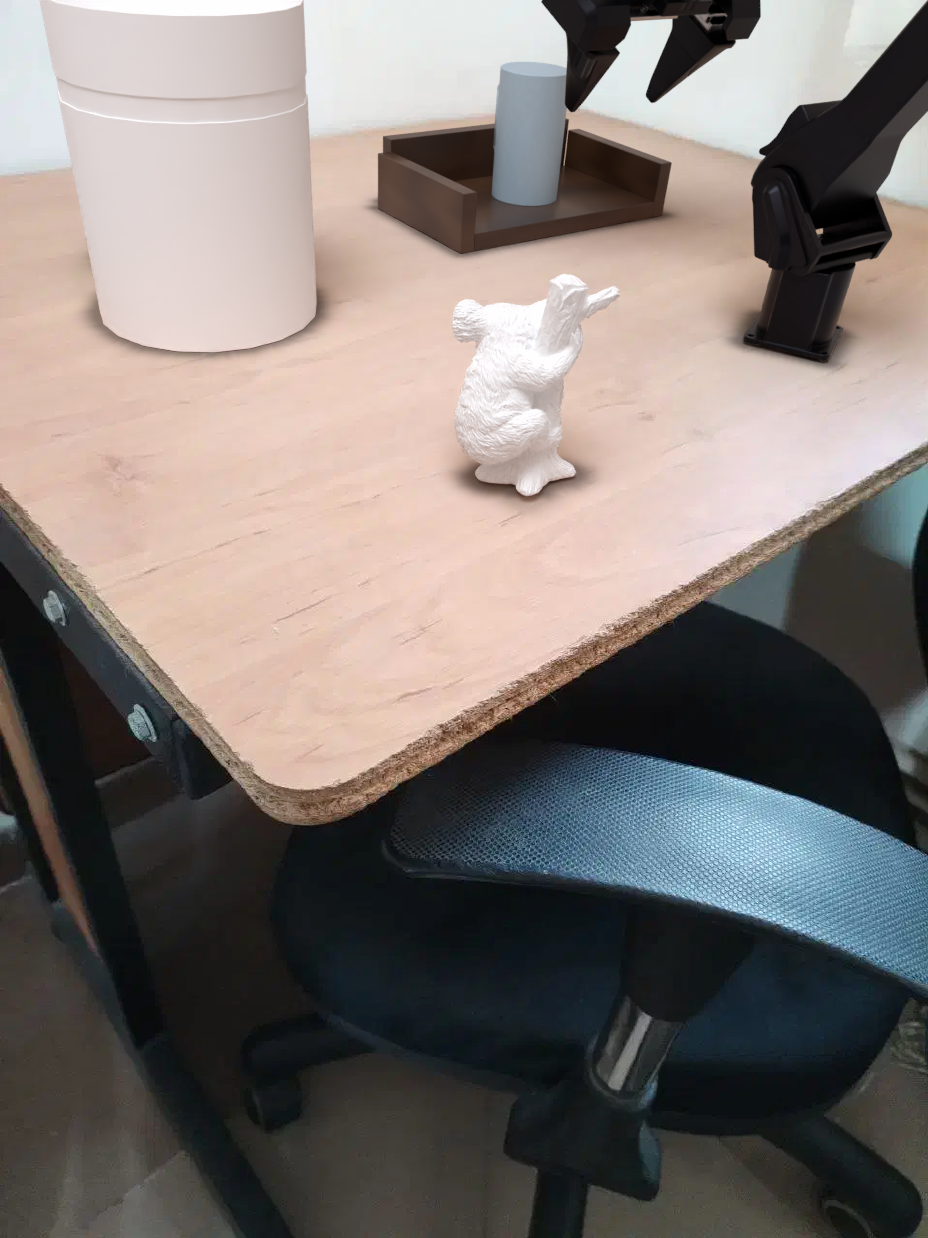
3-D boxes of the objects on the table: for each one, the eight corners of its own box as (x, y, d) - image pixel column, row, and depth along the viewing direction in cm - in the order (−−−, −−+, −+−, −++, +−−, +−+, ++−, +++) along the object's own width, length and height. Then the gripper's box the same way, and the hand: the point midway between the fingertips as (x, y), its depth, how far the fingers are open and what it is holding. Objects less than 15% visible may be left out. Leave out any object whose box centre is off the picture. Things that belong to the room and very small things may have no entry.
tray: (662, 215, 96) (674, 150, 92) (460, 253, 84) (464, 181, 80) (563, 174, 106) (570, 114, 102) (369, 203, 94) (369, 137, 90)
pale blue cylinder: (569, 200, 93) (585, 73, 86) (518, 209, 90) (530, 78, 83) (517, 177, 98) (528, 55, 91) (467, 185, 95) (474, 59, 88)
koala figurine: (596, 461, 58) (628, 261, 50) (579, 520, 53) (613, 308, 45) (460, 437, 59) (472, 240, 51) (432, 493, 54) (440, 283, 46)
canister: (352, 329, 71) (346, 12, 58) (135, 368, 64) (74, 19, 51) (269, 258, 81) (249, -25, 68) (75, 285, 74) (11, -24, 61)
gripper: (728, -158, 74) (638, 36, 88) (542, -170, 66) (473, 47, 79) (813, -69, 71) (707, 118, 85) (631, -69, 63) (544, 140, 76)
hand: (610, 103), depth 81 cm, fingers open, 9 cm apart
